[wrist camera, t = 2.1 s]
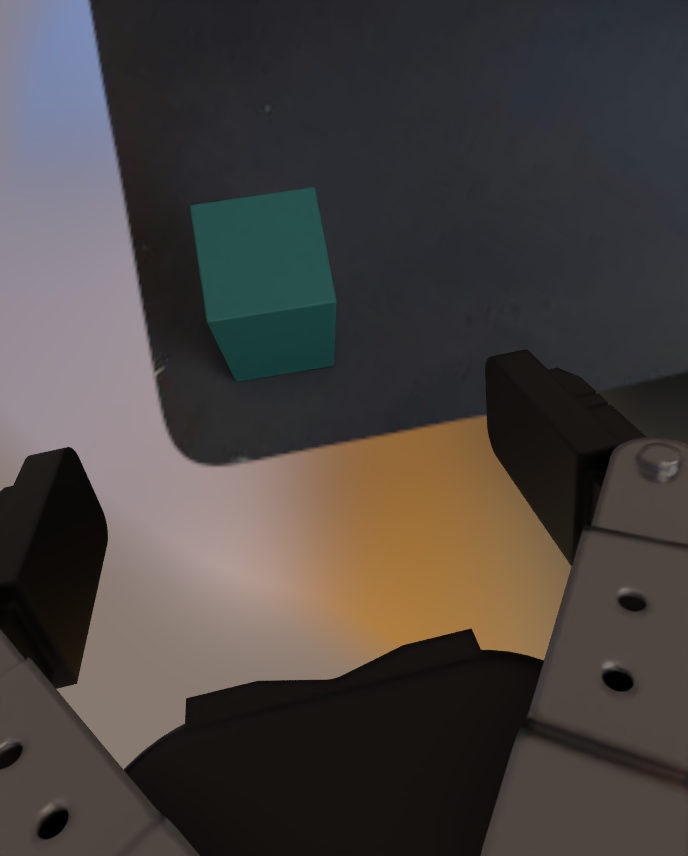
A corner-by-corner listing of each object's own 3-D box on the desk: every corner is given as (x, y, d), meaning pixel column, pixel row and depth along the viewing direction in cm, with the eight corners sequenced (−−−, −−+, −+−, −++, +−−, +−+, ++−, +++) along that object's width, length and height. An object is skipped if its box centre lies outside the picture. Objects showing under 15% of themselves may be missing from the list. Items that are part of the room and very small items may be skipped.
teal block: (235, 382, 32) (206, 322, 24) (221, 290, 33) (189, 204, 25) (334, 366, 32) (336, 301, 25) (317, 275, 33) (314, 185, 26)
